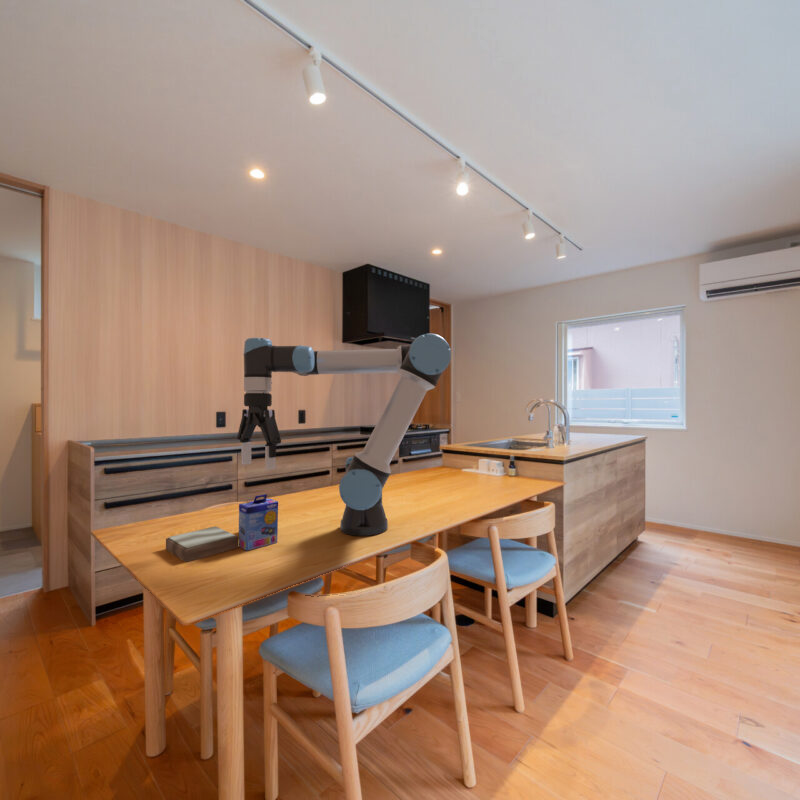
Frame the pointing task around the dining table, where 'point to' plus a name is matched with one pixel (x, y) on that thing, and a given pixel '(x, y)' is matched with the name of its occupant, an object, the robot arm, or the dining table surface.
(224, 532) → the podium
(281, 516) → the dining table surface
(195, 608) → the dining table surface
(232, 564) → the dining table surface
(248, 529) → the ink cartridge box
